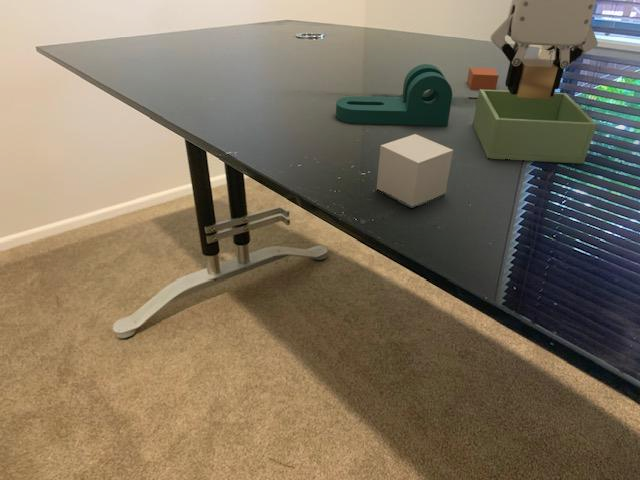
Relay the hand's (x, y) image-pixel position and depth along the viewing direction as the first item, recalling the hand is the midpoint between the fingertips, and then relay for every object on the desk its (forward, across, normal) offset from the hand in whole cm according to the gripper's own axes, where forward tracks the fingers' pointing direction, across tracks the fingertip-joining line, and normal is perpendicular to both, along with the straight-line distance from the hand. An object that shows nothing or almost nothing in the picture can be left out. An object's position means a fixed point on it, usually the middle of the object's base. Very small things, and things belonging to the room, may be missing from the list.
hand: (530, 91), depth 74 cm
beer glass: (+7, -18, -49) cm, 52 cm away
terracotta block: (+7, +3, -20) cm, 21 cm away
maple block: (0, 0, 0) cm, 0 cm away
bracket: (+7, +20, -6) cm, 22 cm away
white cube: (+7, +18, +20) cm, 28 cm away
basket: (+7, 0, +2) cm, 7 cm away
